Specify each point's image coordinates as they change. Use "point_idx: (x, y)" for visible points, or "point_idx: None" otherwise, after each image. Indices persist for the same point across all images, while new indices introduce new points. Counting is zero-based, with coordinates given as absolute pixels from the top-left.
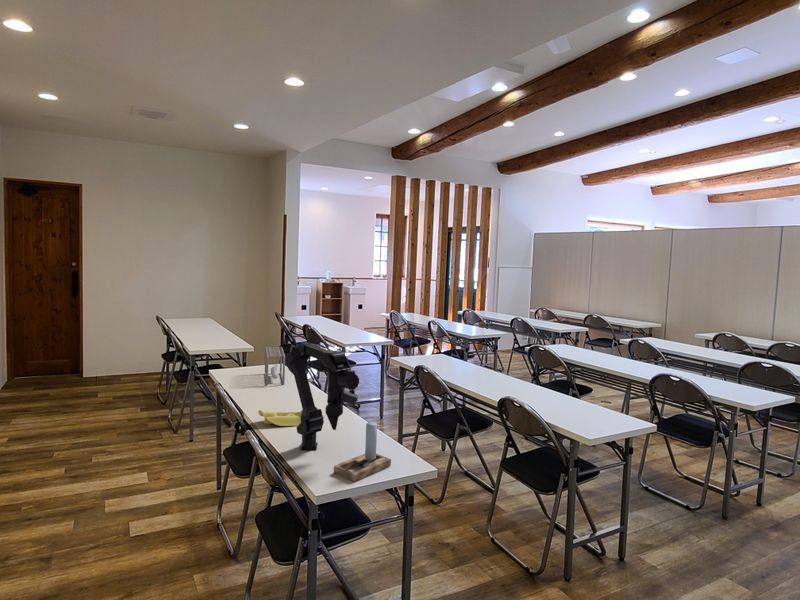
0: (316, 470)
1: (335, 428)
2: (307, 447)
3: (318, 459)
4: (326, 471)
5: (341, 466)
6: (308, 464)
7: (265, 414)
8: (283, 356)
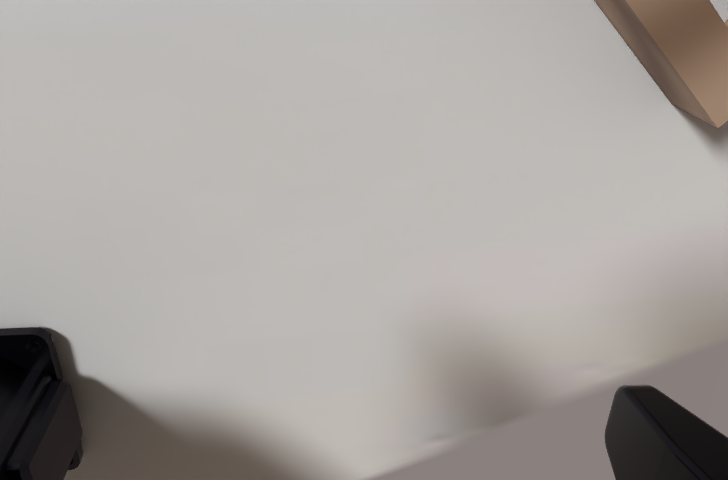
0: (574, 271)
1: (676, 417)
2: (73, 424)
3: (304, 280)
4: (615, 179)
5: (719, 29)
6: (428, 350)
7: None
8: None
